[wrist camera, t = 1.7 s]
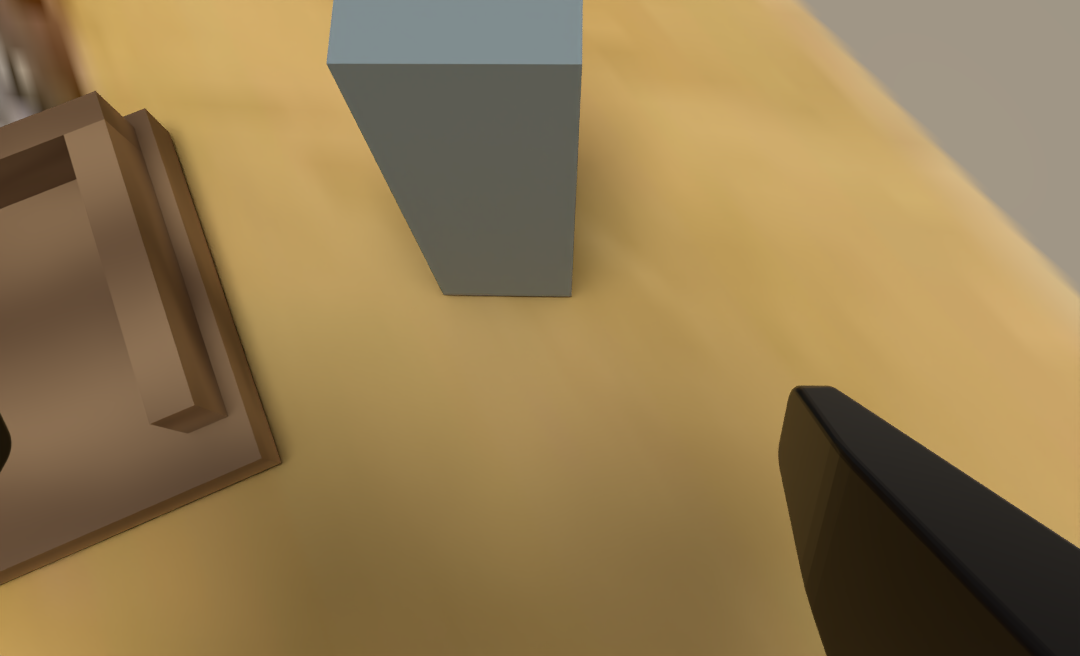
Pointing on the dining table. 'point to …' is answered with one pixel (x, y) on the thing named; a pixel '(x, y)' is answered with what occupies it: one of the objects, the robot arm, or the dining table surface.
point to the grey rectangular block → (472, 130)
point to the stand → (110, 338)
